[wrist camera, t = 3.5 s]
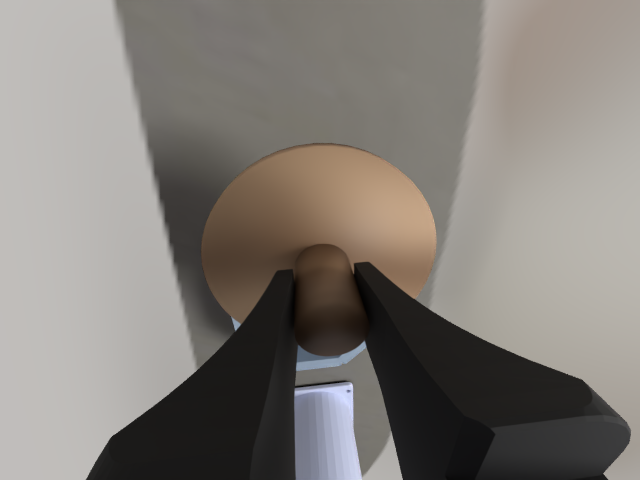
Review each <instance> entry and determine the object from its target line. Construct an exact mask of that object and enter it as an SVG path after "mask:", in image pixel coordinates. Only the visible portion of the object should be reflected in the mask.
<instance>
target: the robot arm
mask: <svg viewBox="0 0 640 480" xmlns="http://www.w3.org/2000/svg"><path fill="white" fill-rule="evenodd" d="M354 277H355V280H356V283H357V286H358V289H359V292H360V295H361V298H362V302H363V305H364V308H365V311H366V314H367V317H368V320H369V324H370V329H369V333H368V336H367V338H366V339H365V340H364V341H365V344H366V347H367V350H368V352H369V355H370V358H371V361H372V364H373V367H374V369H375V372H376V375H377V378H378V381H379V384H380V388H381V391H382V395H383V399H384V403H385V407H386V411H387V415H388V419H389V423H390V427H391V431H392V435H393V439H394V443H395V447H396V452H397V456H398V460H399V465H400V469H401V474H402V478H403V480H608V479H607V478H606V477H605V475H604V474H603V473H604V472H605V470H606V469H607V468H608V467H609V466H610V465H611V464H612V463H613V462H614V461H615V460H616V459H617V458H618V456H619V455H620V454H621V453H622V452H623V451H624V449H625V448H626V447H627V445H628V444H629V441H630V435H631V430H630V428H629V426H628V424H627V422H626V421H625V420H624V419H623V418H622V417H620V415H619V414H618V413H616V412H615V411H614V410H613V409H612V408H611V407H610V406H609V405H608V404H607V403H606V402H605V401H604V400H603V399H602V398H601V397H600V396H599V395H598V394H597V393H596V392H595V391H594V390H592V388H590V387H589V386H588V385H587V384H586V383H585V382H584V381H583V380H581V379H579V378H576V377H573V376H570V375H568V374H565V373H563V372H560V371H557V370H555V369H552V368H549V367H547V366H544V365H541V364H538V363H536V362H533V361H530V360H528V359H526V358H523V357H521V356H518V355H516V354H514V353H512V352H509V351H507V350H505V349H502V348H500V347H498V346H495V345H494V344H491V343H489V342H487V341H485V340H483V339H481V338H479V337H477V336H475V335H473V334H471V333H469V332H467V331H465V330H463V329H461V328H460V327H458V326H456V325H454V324H452V323H451V322H449V321H447V320H446V319H444V318H442V317H441V316H439V315H437V314H436V313H434V312H432V311H431V310H429V309H428V308H426V307H425V306H423V305H422V304H420V303H419V302H418V301H416V300H415V299H413V298H412V297H411V296H409V295H408V294H407V293H405V292H404V291H403V290H402V289H400V288H399V287H398V286H397V285H395V284H394V283H393V282H392V281H391V280H389V279H388V278H387V277H386V276H385V275H384V274H383V273H381V272H380V271H379V270H378V269H377V268H376V267H375V266H374V265H372V264H371V263H370V262H359V263H354ZM294 289H295V282H294V274H293V269H287V270H277V271H276V272H275V274H274V276H273V278H272V280H271V281H270V283H269V285H268V286H267V288H266V290H265V291H264V293H263V295H262V296H261V298H260V299H259V301H258V302H257V304H256V305H255V306H254V308H253V309H252V311H251V312H250V313H249V315H248V316H247V317H246V319H245V320H244V321H243V323H242V324H241V325H240V326H239V327H238V329H237V330H236V331H235V332H234V333H233V335H232V336H231V337H230V338H229V339H228V340H227V341H226V342H225V343H224V345H223V346H222V347H221V348H220V349H219V350H218V351H217V352H216V353H215V354H214V355H213V356H212V357H211V358H210V359H209V360H208V361H206V362H205V363H204V364H203V365H202V366H201V367H200V368H199V369H198V370H197V371H196V372H195V373H194V374H193V375H191V376H190V377H189V378H188V379H187V380H186V381H184V382H183V383H182V384H181V385H180V386H178V387H177V388H176V389H175V390H173V391H172V392H171V393H170V394H169V395H167V396H166V397H165V398H164V399H162V400H161V401H160V402H158V403H157V404H156V405H155V406H153V407H152V408H151V409H149V410H148V411H146V412H145V413H144V414H142V415H141V416H140V417H138V418H137V419H135V420H134V421H133V422H131V423H130V424H129V425H127V426H126V427H125V428H123V429H122V430H120V431H119V432H118V433H116V434H115V435H113V436H112V437H111V438H110V440H109V441H108V443H107V445H106V446H105V448H104V449H103V451H102V453H101V454H100V456H99V457H98V459H97V461H96V462H95V464H94V466H93V468H92V470H91V472H90V473H89V475H88V477H87V479H86V480H362V476H361V471H360V465H359V459H358V453H357V448H356V442H355V436H354V430H353V385H352V383H351V382H344V383H335V384H326V385H318V386H309V387H300V388H295V378H296V365H297V352H298V343H297V342H296V339H295V336H294Z"/></svg>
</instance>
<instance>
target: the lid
mask: <svg viewBox="0 0 640 480" xmlns="http://www.w3.org/2000/svg"><path fill="white" fill-rule="evenodd" d="M435 252H436V229H435V224H434V219H433V216H432V213H431V211H430V208H429V205H428V204H427V202H426V200H425V198H424V197H423V195H422V193H421V192H420V191H419V189H418V188H417V187H416V186H415V184H414V183H413V182H412V181H411V180H410V179H409V178H408V177H407V176H405V175H404V174H403V173H402V172H401V171H400V170H398V169H397V168H396V167H394V166H393V165H391V164H390V163H388V162H387V161H385V160H384V159H382V158H381V157H379V156H376V155H374V154H372V153H370V152H368V151H365V150H362V149H359V148H355V147H352V146H348V145H340V144H333V143H312V144H305V145H298V146H293V147H290V148H286V149H283V150H279V151H277V152H275V153H272V154H270V155H268V156H266V157H263V158H262V159H260V160H258V161H257V162H255V163H254V164H252V165H250V166H249V167H247V168H246V169H245V170H244V171H243V172H242V173H240V174H239V175H238V176H237V177H236V178H235V179H234V180H233V181H232V182H231V183H230V185H229V186H228V187H227V188H226V189H225V190H224V192H223V193H222V195H221V196H220V197H219V199H218V201H217V202H216V204H215V205H214V207H213V208H212V210H211V212H210V215H209V217H208V219H207V222H206V224H205V228H204V232H203V236H202V245H201V259H202V267H203V271H204V275H205V279H206V281H207V283H208V286H209V288H210V290H211V292H212V294H213V295H214V297H215V298H216V300H217V301H218V303H219V304H220V305H221V306H222V308H223V309H224V310H225V311H226V312H227V313H228V314H229V315H230V316H231V317H232V318H233V319H235V320H236V321H237V322H239V323H240V324H242V323H243V321H244V320H245V319H246V317H247V316H248V315H249V313H250V312H251V311H252V309H253V308H254V306H255V305H256V304H257V302H258V301H259V299H260V298H261V296H262V295H263V293H264V291H265V290H266V288H267V286H268V285H269V283H270V281H271V280H272V278H273V276H274V274H275V272H276V271H277V270H287V269H293V274H294V282H295V289H294V336H295V339H296V342H297V343H298V345H299V346H300V347H301V348H302V349H304V350H305V351H307V352H309V353H311V354H314V355H318V356H338V355H342V354H345V353H348V352H350V351H352V350H354V349H356V348H357V347H358V346H360V345H361V344H362V343H363V342H364V340H365V339H366V338H367V336H368V333H369V329H370V324H369V320H368V317H367V314H366V311H365V308H364V305H363V302H362V298H361V295H360V292H359V289H358V286H357V283H356V280H355V277H354V263H359V262H370V263H371V264H372V265H374V266H375V267H376V268H377V269H378V270H379V271H380V272H381V273H383V274H384V275H385V276H386V277H387V278H388V279H389V280H391V281H392V282H393V283H394V284H395V285H397V286H398V287H399V288H400V289H402V290H403V291H404V292H405V293H407V294H408V295H409V296H411V297H412V298H413V299H415V298H416V297H417V295H418V294H419V293H420V291H421V290H422V288H423V286H424V285H425V283H426V281H427V279H428V277H429V274H430V272H431V270H432V266H433V262H434V259H435Z"/></svg>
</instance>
